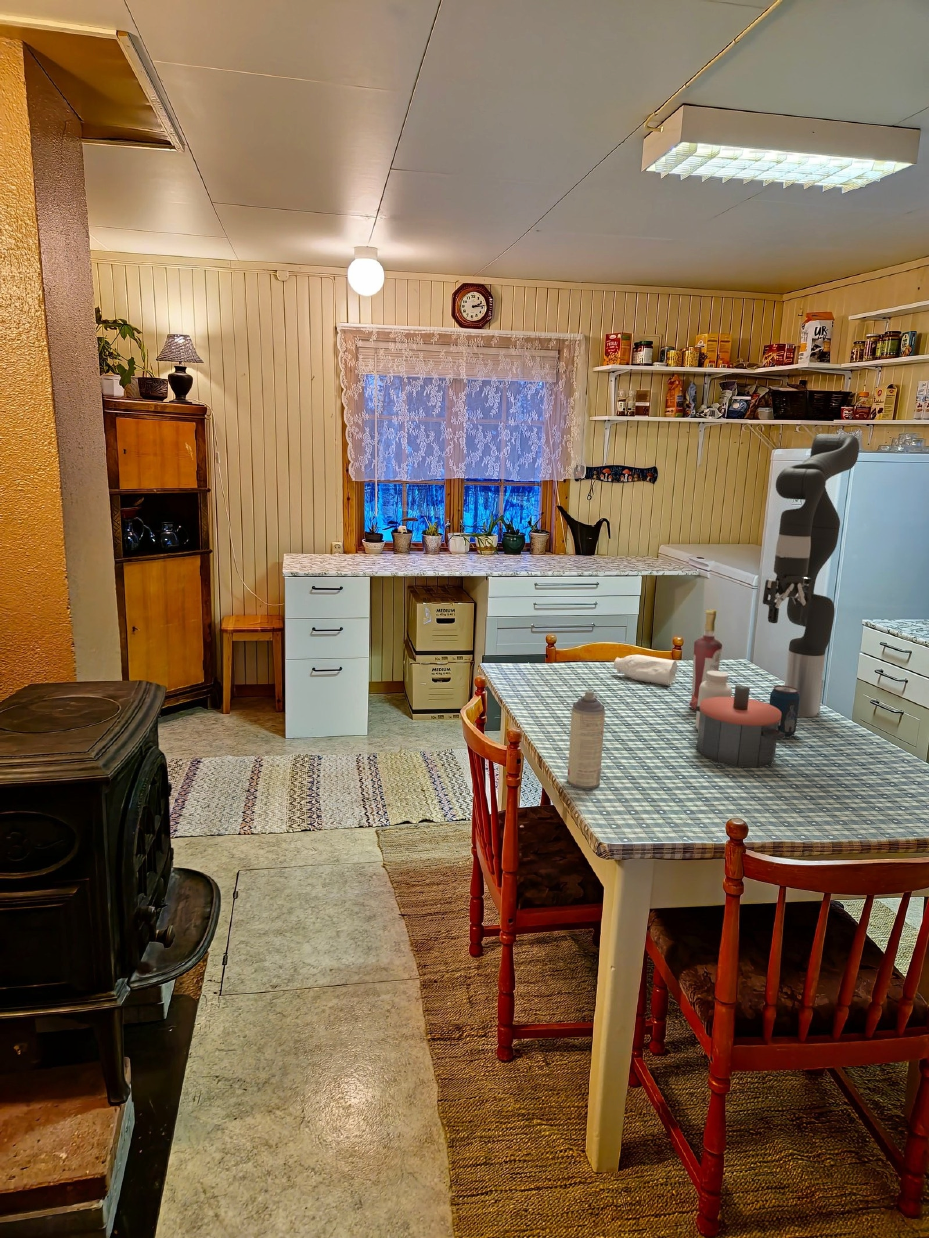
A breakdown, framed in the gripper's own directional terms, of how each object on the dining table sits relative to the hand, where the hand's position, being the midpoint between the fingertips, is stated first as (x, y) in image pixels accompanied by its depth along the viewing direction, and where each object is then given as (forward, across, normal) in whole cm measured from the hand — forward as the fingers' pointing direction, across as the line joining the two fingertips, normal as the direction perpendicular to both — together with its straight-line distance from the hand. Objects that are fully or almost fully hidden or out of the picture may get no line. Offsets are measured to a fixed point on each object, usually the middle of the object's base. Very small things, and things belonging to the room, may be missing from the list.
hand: (784, 621), depth 194 cm
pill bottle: (+30, +8, -12) cm, 34 cm away
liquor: (+30, -2, -25) cm, 39 cm away
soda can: (+30, -6, -2) cm, 31 cm away
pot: (+30, +16, +3) cm, 34 cm away
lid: (+21, +16, +3) cm, 27 cm away
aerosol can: (+30, +60, +1) cm, 67 cm away
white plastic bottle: (+30, -7, -54) cm, 62 cm away
